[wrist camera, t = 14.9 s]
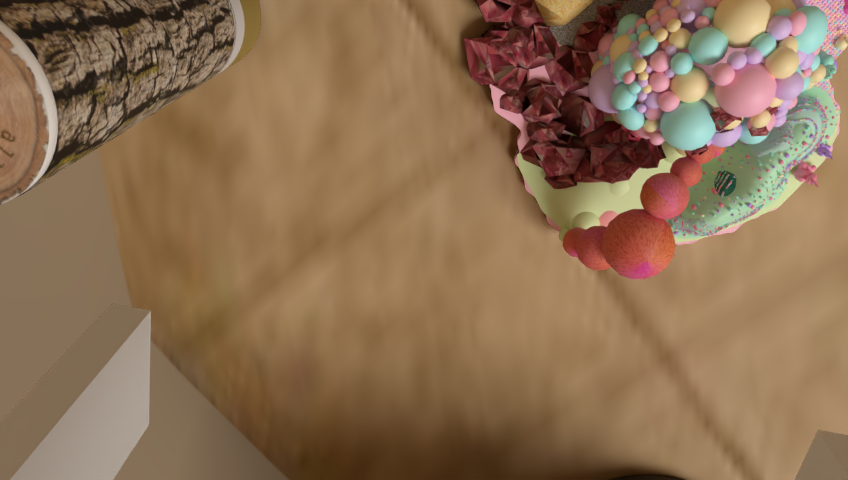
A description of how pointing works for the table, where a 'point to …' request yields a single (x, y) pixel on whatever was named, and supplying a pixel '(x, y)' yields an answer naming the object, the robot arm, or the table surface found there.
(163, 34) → the bark covered log
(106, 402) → the robot arm
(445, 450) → the table surface
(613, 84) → the candy landscape model
